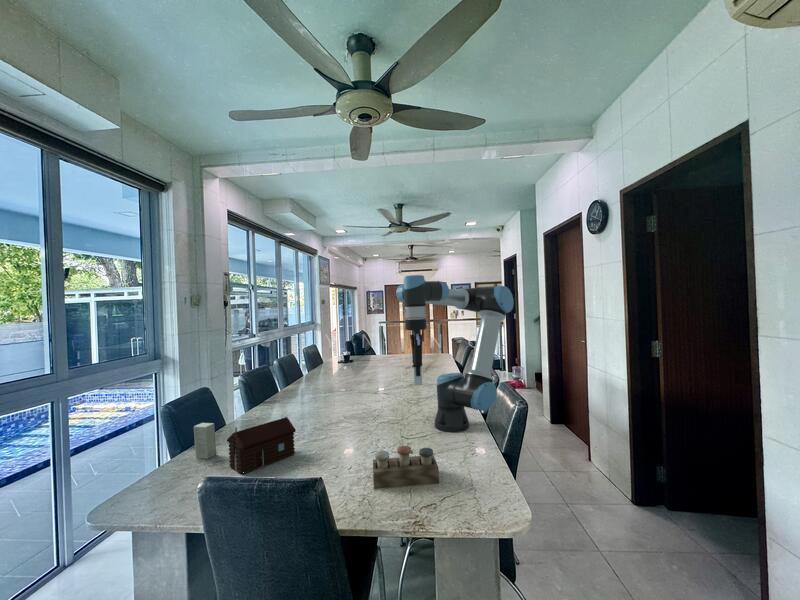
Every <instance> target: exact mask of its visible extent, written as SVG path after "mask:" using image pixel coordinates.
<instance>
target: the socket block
mask: <svg viewBox="0 0 800 600" xmlns="http://www.w3.org/2000/svg"><path fill="white" fill-rule="evenodd" d="M409 458H410V466H404V467H400V460H399V457H389V458H388V459H387V461H388V468H378V465H377V459H376V458H375V459H374V458H373V459H372V470H373V471H372V476H373V490H376V489H377V490H378V489H387V488H388V489H389V488H400V487H401V488H402V487H412V486H413V487H414V486H423V485H424V486H426V485H438V484H440V475H439V469H440V468H439V466H438V462H437V461H436V459H435V455H434V454H433V455H432V456H431V461H432V464H430V465H422V462H421V455H417V456H416V455H415V456H409Z"/></svg>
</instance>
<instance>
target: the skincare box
mask: <svg viewBox="0 0 800 600" xmlns="http://www.w3.org/2000/svg"><path fill="white" fill-rule="evenodd" d="M215 428H216V427H215V423H213V422H200V423H198V424H196V425H194V426H193V437H194V451H195V454H194V455H195V458H196V459H205V460H208V459H210V458H212V457H214V456H216V455H217V444H216V432H215V431H216V430H215Z"/></svg>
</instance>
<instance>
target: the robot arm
mask: <svg viewBox="0 0 800 600" xmlns="http://www.w3.org/2000/svg"><path fill="white" fill-rule="evenodd" d="M395 295H396V298H397V299H398V301H399V302H402V303H403V304H404V309H403V310H402V312H403V313H404V318H405V321H404V325H405V326H404V329H405V330H406V331H411V334H409V335H410V336H409V338H410V339H409V340H410V346H411V354H412V355H411V356H412V357H411V358H412V360H411V361H412V365H411V367H412V368H413V386H421V385H423V375H422V373H423V372H422V366H423V335H422V334H421V330H423V331H424V330H426V329H427V320H426V319H425V318H427V308H426V307H427V306H426V304H429V305H440V306H447V307H448V306H449V307H455V308H456V309H458V310H464V311H470V312H473V313H474V312H475V313H478V315H479V316H480V321H479V326H478V331H477V335H476V340H475V346H474V349H473V355H472V359H471V365H470V368H469V370H468V371H466V372H465V375H463V373H462V372H452V373H451V372H450V373H443V374H440V375H439V376H437V379H436V396H437V411H436V413H435V414H436V415H435V417H434V428H435V429H436V430H439V431H442V432H448V433H457V432H459V433H460V432H463V431H466V430H469V428H470V421H469V418H468V415H467V412H466V409H465V408H468V409H473V410H475V411H488V410H489V409H490V408H492V407H493V405H494V403H495V402H496V399H497V395H498V392H497V386H496V385H495V384H494V378H493V377H492V375H491V374H492V369H493V364H494V359H495V354H496V348H497V343H498V337H499V332H500V327H501V322H502V321H504V320H505V319H506V316H507V314H508V313H510V312H512V311H513V309H514V302H515V301H514V297H513V296H514V295H513V294H512V292H511V290H510V288H509V287H507V286H505V285H491V286H479V287H470V288H468V287H467V288H457V289H455V288H450V286H449V285H448V284H447V283H446V282H445V281H440V280H430V281H429V280H425V276H424V275H421V274H415V275H413V274H411V275H406V276H404V278H403V283H401V284H399V285H398V286H397V288H396V291H395Z"/></svg>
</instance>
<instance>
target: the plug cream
mask: <svg viewBox="0 0 800 600" xmlns="http://www.w3.org/2000/svg"><path fill="white" fill-rule="evenodd" d="M374 457H375V459H377V465H378V468H388V461H387V459H388V458H390V453H389V451H387V450H378V451H376V452H375V453H374Z"/></svg>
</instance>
